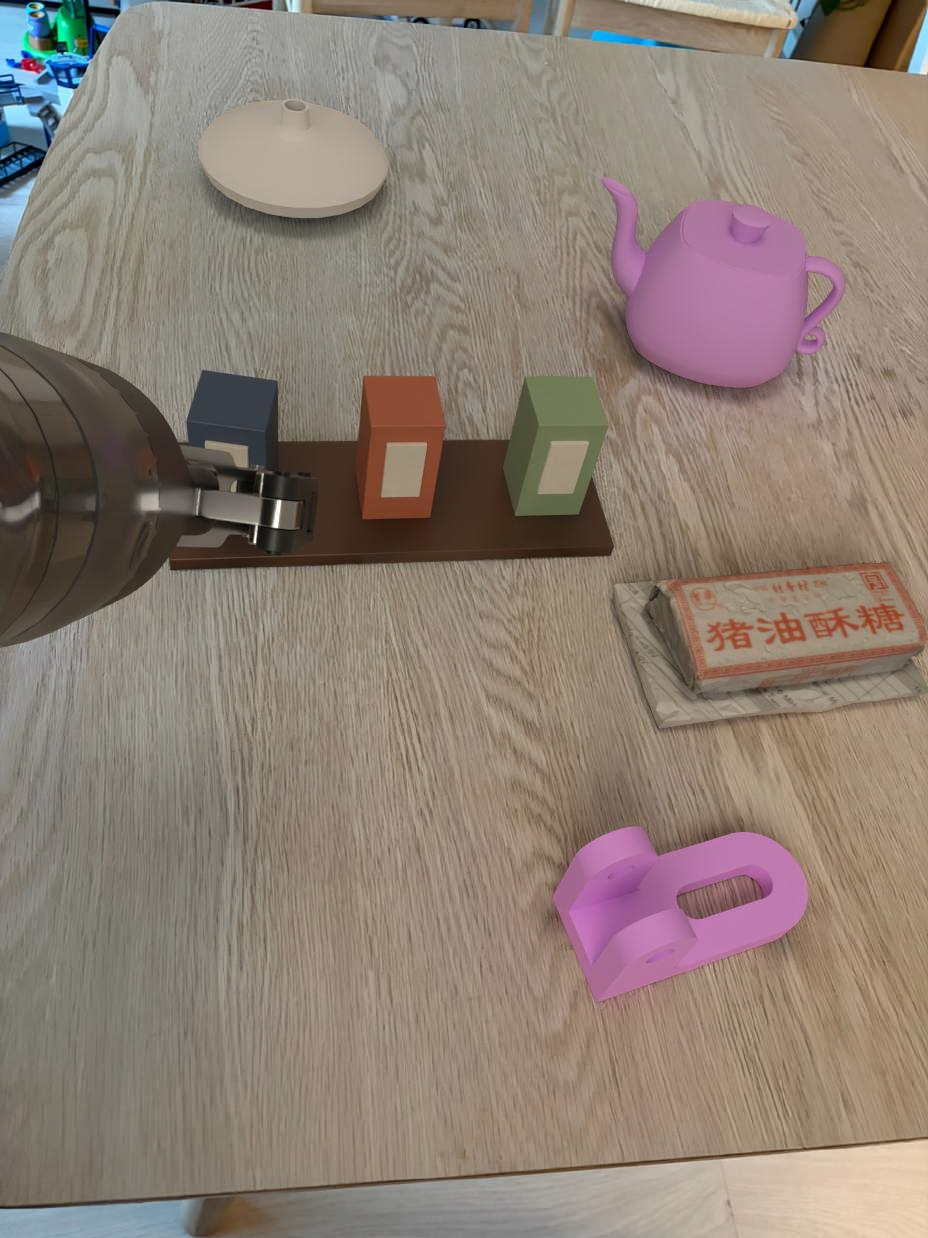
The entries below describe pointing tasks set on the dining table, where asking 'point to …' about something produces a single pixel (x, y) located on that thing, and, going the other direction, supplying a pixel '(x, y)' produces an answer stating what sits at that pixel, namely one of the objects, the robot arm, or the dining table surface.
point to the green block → (554, 445)
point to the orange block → (399, 446)
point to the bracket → (670, 905)
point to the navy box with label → (236, 418)
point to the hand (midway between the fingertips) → (151, 482)
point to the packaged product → (772, 641)
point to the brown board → (457, 529)
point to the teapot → (719, 291)
